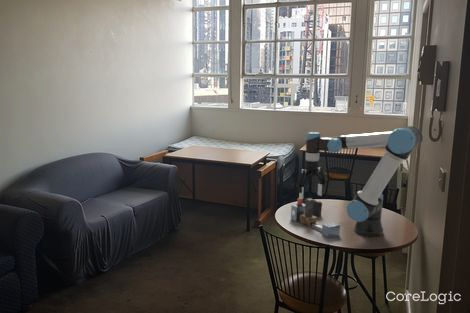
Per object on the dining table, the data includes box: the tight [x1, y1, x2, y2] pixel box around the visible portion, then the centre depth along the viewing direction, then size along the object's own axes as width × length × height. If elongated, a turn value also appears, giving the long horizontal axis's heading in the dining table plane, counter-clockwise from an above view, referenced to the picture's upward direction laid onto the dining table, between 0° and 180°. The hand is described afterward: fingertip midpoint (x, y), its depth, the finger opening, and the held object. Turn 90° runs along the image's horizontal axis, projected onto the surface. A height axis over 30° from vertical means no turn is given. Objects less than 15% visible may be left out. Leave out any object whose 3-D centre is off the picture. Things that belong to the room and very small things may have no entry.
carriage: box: [300, 197, 318, 228], centre depth 233 cm, size 8×6×15 cm
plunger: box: [296, 197, 302, 206], centre depth 240 cm, size 3×3×4 cm
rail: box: [290, 203, 341, 239], centre depth 229 cm, size 32×8×9 cm, turn 30°
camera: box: [302, 196, 323, 218], centre depth 254 cm, size 14×11×10 cm
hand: (310, 196), depth 231 cm, fingers open, 13 cm apart
